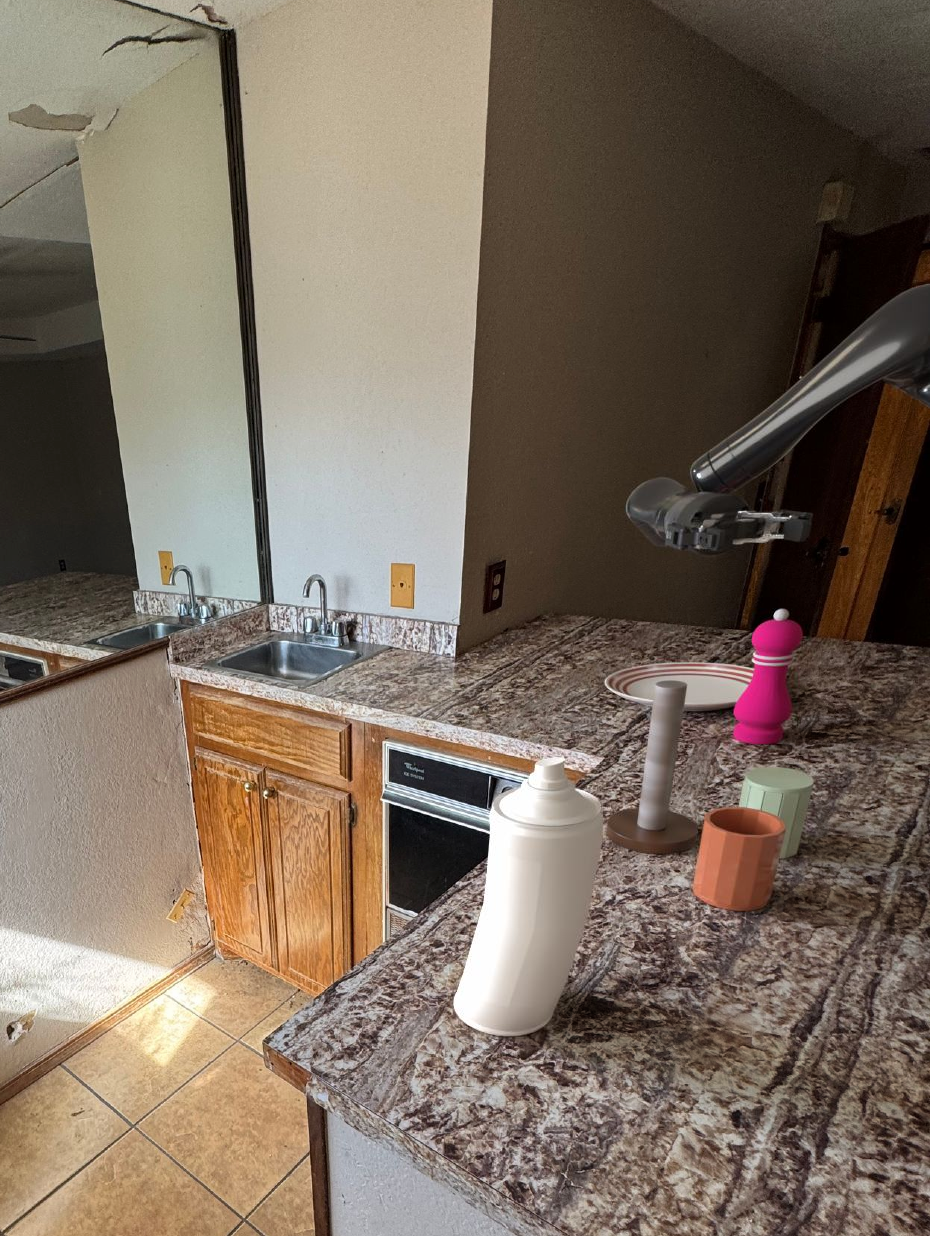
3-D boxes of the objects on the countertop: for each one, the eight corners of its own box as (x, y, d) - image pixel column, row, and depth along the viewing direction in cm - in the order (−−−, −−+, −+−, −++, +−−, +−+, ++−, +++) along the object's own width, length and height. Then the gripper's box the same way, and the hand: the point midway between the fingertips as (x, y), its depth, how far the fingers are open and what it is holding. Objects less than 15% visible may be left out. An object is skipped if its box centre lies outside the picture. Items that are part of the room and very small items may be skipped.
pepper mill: (773, 749, 112) (801, 616, 103) (720, 740, 117) (743, 612, 108) (793, 735, 115) (822, 605, 106) (741, 726, 120) (764, 602, 112)
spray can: (489, 952, 78) (497, 730, 67) (596, 986, 71) (625, 745, 60) (439, 1015, 71) (438, 777, 60) (553, 1060, 64) (577, 800, 53)
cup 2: (723, 870, 85) (736, 801, 81) (785, 899, 79) (803, 825, 75) (676, 888, 84) (688, 817, 80) (737, 918, 77) (752, 843, 74)
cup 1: (758, 828, 92) (772, 762, 89) (810, 849, 87) (828, 779, 83) (719, 842, 91) (731, 775, 87) (770, 864, 85) (786, 793, 81)
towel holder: (647, 811, 100) (666, 667, 91) (715, 839, 91) (744, 683, 83) (588, 830, 98) (603, 684, 89) (653, 862, 89) (676, 703, 80)
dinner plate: (596, 677, 152) (597, 661, 150) (754, 672, 142) (758, 655, 141) (612, 723, 129) (614, 705, 128) (801, 720, 119) (806, 701, 118)
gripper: (650, 500, 99) (699, 510, 85) (770, 485, 96) (841, 492, 82) (643, 558, 103) (690, 577, 88) (759, 545, 100) (826, 562, 85)
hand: (763, 536), depth 85 cm, fingers open, 8 cm apart
